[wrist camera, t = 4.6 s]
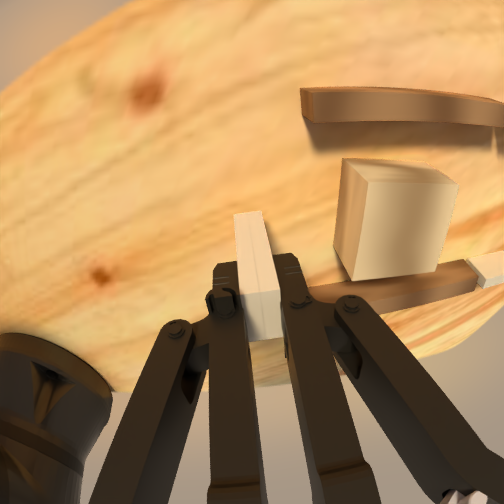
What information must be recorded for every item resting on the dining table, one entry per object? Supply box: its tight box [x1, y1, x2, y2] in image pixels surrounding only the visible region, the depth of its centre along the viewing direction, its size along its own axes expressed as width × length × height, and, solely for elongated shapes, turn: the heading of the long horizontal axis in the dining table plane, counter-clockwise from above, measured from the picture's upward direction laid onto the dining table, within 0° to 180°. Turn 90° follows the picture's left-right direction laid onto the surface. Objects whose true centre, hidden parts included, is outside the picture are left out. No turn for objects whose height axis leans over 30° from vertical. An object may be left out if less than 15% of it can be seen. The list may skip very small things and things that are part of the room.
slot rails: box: [300, 87, 504, 315], centre depth 19 cm, size 14×15×2 cm
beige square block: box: [333, 158, 459, 281], centre depth 18 cm, size 6×6×4 cm
